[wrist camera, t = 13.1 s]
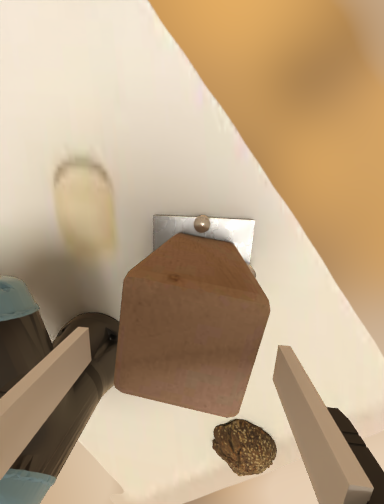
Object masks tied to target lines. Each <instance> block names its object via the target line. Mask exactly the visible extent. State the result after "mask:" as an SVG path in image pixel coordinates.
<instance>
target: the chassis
mask: <svg viewBox="0 0 384 504" xmlns="http://www.w3.org/2000/svg"><path fill="white" fill-rule="evenodd" d="M254 225H255V220H250V219H230V218H210V217H207V216H205V215H201V216H199V217H190V216H170V215H153V252H154V251H155V250H156V249H158V248H159V247H160V246H161V245H163V244H164V243H165V242H166V241H168V240H169V239H170V238H171V237H173V236H174V235H175V234H178V233H183V234H188V235H193V236H198V237H203V238H209V239H214V240H219V241H224V242H229V243H232V244H234V245H235V246H236V248H237V249H238V251H239V253H240V254H241V256H242V258H243V259H244V261H245V262H246V264H247V266H248V267H249V269H250V271H251V272H252V274H253V275H254V277H255V278H256V273H255V271H254V270H253V268H252V267H251V265H250V258H251V250H252V242H253V233H254Z"/></svg>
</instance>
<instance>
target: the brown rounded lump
mask: <svg viewBox="0 0 384 504" xmlns="http://www.w3.org/2000/svg"><path fill="white" fill-rule="evenodd" d="M214 437H215V440H214V441H213V446H212V447H213V449H214V450H215V451H216V453H217V454H218V455H219V456H220V457H221V458H222V459H223V460H225V461H226V462H227V463H228V465H229V467H230V468H231V469H232V470H233V472H234V473H236V474H238V476H242V475H243V476H245V475H253V474H259V473H262V472H263V471H265V470H266V468H267V467H268V468H269V467H270V465H272V464H273V463H272V460H274V459H275V457H276V452H277V448H276V445H275V442H274V441H273V440H272V438H271V437H270V436H269V435H268V434H267V433H266V432H264V431H263V430H262V429H261V428H260V427H258V426H254V425H253V424H251V423H249V422H247V421H246V420H240V419H238V420H235V421H233V422H231V423H230V424H228V425H226V426H222V425H219V426H217V427H216V428H215V429H214Z"/></svg>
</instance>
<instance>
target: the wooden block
mask: <svg viewBox="0 0 384 504" xmlns="http://www.w3.org/2000/svg"><path fill="white" fill-rule="evenodd" d="M269 314H270V305H269V300H268V298H267V297H266V295H265V293H264V292H263V290H262V288H261V287H260V285H259V284H258V282H257V280H256V279H255V277H254V275H253V274H252V272H251V271H250V269H249V267H248V266H247V264H246V262H245V261H244V259H243V258H242V256H241V254H240V253H239V251H238V249H237V248H236V246H235V245H234V244H232V243H229V242H224V241H219V240H214V239H209V238H203V237H198V236H193V235H188V234H183V233H178V234H175V235H174V236H173V237H171V238H170V239H169V240H168V241H166V242H165V243H164V244H163V245H161V246H160V247H159V248H158V249H156V250H155V251H154V252H153V253H151V254H150V255H149V256H148V257H146V258H145V259H144V260H142V261H141V262H140V263H139V264H137V265H136V266H135V267H134V268H132V269H131V270H130V271H129V272H128V274H127V275H126V277H125V279H124V282H123V292H122V302H121V312H120V322H119V332H118V342H117V353H116V363H115V373H114V385H115V388H116V389H118V390H119V391H120V392H122V393H126V394H130V395H134V396H139V397H143V398H147V399H151V400H155V401H159V402H164V403H168V404H172V405H176V406H180V407H185V408H189V409H193V410H197V411H201V412H205V413H210V414H214V415H218V416H222V417H226V418H228V417H234V416H236V415H237V414H238V413H239V410H240V407H241V404H242V400H243V397H244V394H245V391H246V388H247V384H248V381H249V378H250V375H251V372H252V368H253V365H254V362H255V359H256V356H257V352H258V349H259V346H260V343H261V340H262V336H263V333H264V330H265V327H266V324H267V320H268V317H269Z"/></svg>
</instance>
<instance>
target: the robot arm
mask: <svg viewBox="0 0 384 504" xmlns="http://www.w3.org/2000/svg"><path fill="white" fill-rule="evenodd" d="M38 310H39V306H38V305H37V304H36V303H35V302H34V300H33V298H32V296H31V294H30V292H29V290H28V288H27V286H26V284H25V283H24V282H23V281H22V280H21V279H19V278H16V277H12V276H0V504H40V503H41V501H42V499H43V498H44V496H45V494H46V493H47V491H48V490H49V488H50V486H52V485H53V484H54V483H55V481H56V479H57V476H58V474H59V473H60V470H61V469H62V467H63V465H64V463H65V462H66V460H67V458H68V456H69V455H70V453H71V451H72V449H73V447H74V446H75V443H76V442H77V440H78V438H79V437H80V435H81V433H82V431H83V429H84V428H85V426H86V424H87V422H88V420H89V419H90V417H91V415H92V413H93V411H94V410H95V408H96V406H97V404H98V402H99V401H100V399H101V397H102V396H103V395H104V394H105V393H106V392H107V391H108V390H109V389H110V388H111V387H112V386H113V385H114V373H115V363H116V353H117V342H118V332H119V322H118V321H116V320H115V319H113V318H111V317H109V316H107V315H104V314H100V313H84V314H81V315H78V316H76V317H75V318H73V319H72V320H71V321H69V322H68V323H67V324H66V325H65V326H64V327H63V328H62V329H61V330H60V332H59V333H58V335H57V337H56V338H55V340H54V341H53V343H52V342H51V340H50V338H49V335H48V333H47V330H46V328H45V325H44V323H43V321H42V318H41V316H40V313H39V311H38ZM273 382H274V384H275V387H276V390H277V392H278V395H279V398H280V400H281V403H282V406H283V408H284V411H285V414H286V416H287V419H288V422H289V424H290V427H291V430H292V432H293V435H294V438H295V440H296V443H297V446H298V448H299V451H300V454H301V456H302V459H303V462H304V465H305V467H306V470H307V473H308V475H309V478H310V481H311V483H312V486H313V489H314V491H315V494H316V497H317V499H318V502H319V504H384V472H383V470H382V469H381V467H380V466H379V464H378V463H377V461H376V459H375V458H374V457H373V455H372V453H371V452H370V450H369V449H368V448H367V447H366V445H365V443H364V441H363V440H362V438H361V437H360V436H359V435H358V432H357V431H356V429H355V428H354V426H353V425H352V423H351V422H350V420H349V419H348V418H347V417H346V416H345V415H344V414H343V413H342V412H341V411H340V410H339V409H338V408H329V407H326V406H325V404H324V402H323V401H322V399H321V397H320V396H319V394H318V392H317V391H316V389H315V387H314V385H313V384H312V382H311V380H310V379H309V377H308V375H307V374H306V372H305V370H304V369H303V367H302V365H301V363H300V362H299V360H298V358H297V357H296V355H295V353H294V352H293V350H292V348H291V346H282V345H278V351H277V357H276V363H275V369H274V374H273Z"/></svg>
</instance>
